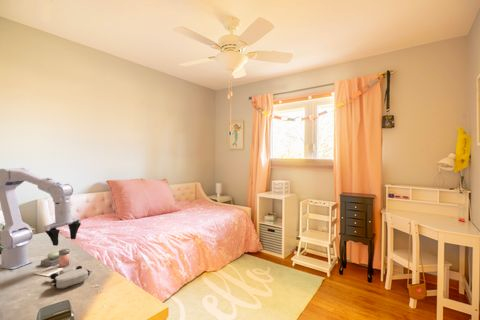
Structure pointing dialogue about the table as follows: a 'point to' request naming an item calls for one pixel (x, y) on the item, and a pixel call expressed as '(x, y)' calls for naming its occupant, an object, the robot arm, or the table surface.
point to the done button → (53, 255)
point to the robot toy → (69, 277)
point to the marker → (63, 258)
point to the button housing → (49, 262)
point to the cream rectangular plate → (49, 271)
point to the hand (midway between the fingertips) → (64, 242)
